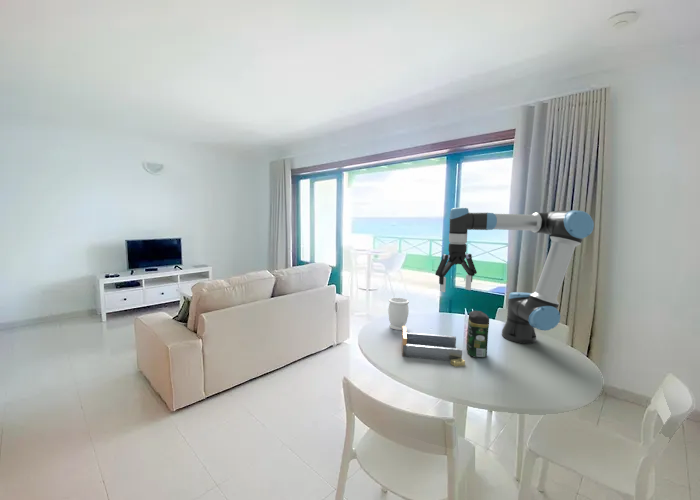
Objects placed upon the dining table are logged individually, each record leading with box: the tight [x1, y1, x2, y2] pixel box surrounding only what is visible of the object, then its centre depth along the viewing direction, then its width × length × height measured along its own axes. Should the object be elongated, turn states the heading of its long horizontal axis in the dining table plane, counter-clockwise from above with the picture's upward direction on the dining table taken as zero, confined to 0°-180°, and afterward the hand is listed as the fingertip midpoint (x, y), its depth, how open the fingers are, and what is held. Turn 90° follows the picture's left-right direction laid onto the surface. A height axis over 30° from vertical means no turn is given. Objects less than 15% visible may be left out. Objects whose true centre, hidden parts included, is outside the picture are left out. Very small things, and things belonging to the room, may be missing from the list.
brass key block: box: [449, 357, 466, 367], centre depth 124 cm, size 5×2×2 cm, turn 106°
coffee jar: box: [466, 310, 490, 359], centre depth 133 cm, size 10×8×19 cm
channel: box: [401, 325, 463, 362], centre depth 135 cm, size 24×15×8 cm, turn 81°
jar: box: [387, 297, 410, 331], centre depth 163 cm, size 11×10×15 cm
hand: (455, 290), depth 138 cm, fingers open, 13 cm apart
